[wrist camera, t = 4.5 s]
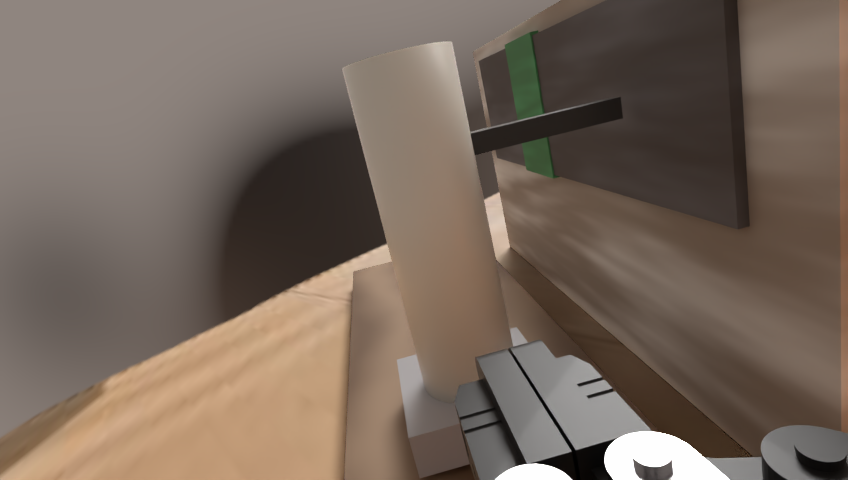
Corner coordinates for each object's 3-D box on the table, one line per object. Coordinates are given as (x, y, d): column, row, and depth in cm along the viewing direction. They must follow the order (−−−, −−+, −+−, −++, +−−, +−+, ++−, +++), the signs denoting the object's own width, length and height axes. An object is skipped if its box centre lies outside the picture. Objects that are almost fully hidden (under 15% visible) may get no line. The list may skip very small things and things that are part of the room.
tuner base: (350, 686, 14) (93, -1, 9) (357, 286, 47) (302, 91, 42) (902, 513, 15) (927, -181, 10) (529, 241, 48) (494, 46, 43)
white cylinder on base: (419, 478, 18) (304, 67, 14) (405, 391, 24) (320, 81, 20) (691, 399, 19) (650, -13, 15) (614, 334, 25) (570, 23, 21)
